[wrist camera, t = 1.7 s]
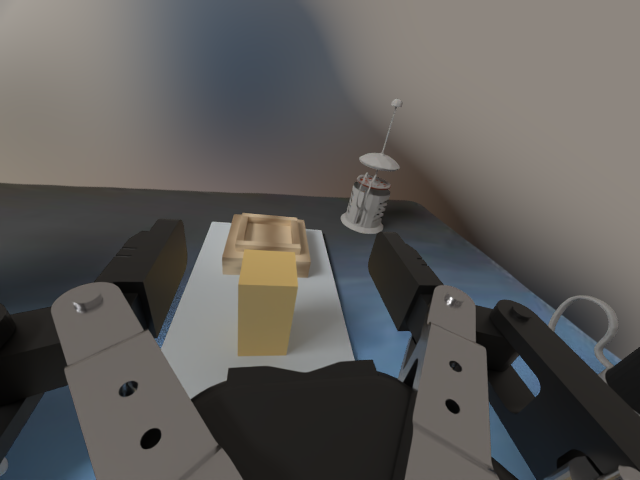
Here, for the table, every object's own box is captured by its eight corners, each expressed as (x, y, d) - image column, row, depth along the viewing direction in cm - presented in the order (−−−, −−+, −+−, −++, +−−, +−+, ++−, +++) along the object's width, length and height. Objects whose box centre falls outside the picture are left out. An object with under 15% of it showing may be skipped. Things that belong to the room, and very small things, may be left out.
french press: (387, 221, 62) (429, 104, 49) (374, 243, 53) (420, 105, 40) (349, 207, 65) (379, 93, 52) (330, 225, 56) (360, 92, 43)
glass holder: (589, 541, 21) (811, 471, 13) (474, 368, 32) (553, 274, 24) (665, 521, 23) (900, 450, 15) (532, 364, 34) (622, 277, 26)
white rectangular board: (134, 426, 22) (131, 420, 21) (212, 226, 48) (212, 221, 48) (363, 411, 26) (366, 406, 25) (320, 234, 52) (321, 230, 52)
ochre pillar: (237, 356, 27) (238, 284, 22) (242, 317, 31) (244, 249, 26) (286, 355, 28) (298, 286, 23) (285, 318, 32) (295, 252, 27)
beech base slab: (222, 274, 37) (221, 249, 35) (234, 229, 47) (234, 207, 44) (307, 277, 39) (312, 255, 37) (301, 234, 49) (304, 214, 47)
